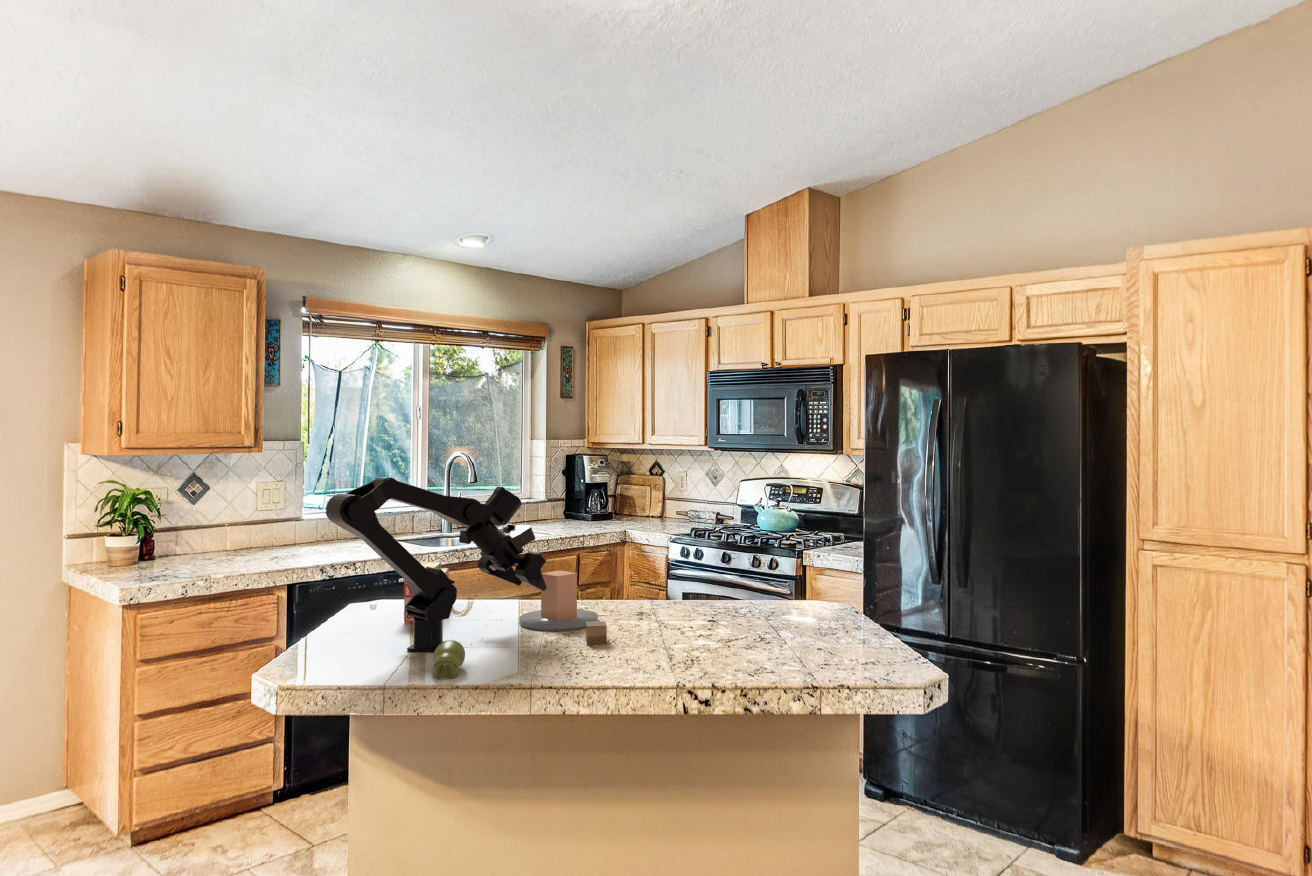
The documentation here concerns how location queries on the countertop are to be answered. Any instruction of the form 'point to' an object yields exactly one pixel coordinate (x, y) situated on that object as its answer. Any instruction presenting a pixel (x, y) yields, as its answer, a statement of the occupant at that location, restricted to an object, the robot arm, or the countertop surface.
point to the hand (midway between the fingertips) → (532, 586)
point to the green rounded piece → (448, 659)
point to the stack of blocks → (407, 591)
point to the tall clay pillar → (559, 595)
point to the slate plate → (557, 621)
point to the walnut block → (596, 633)
